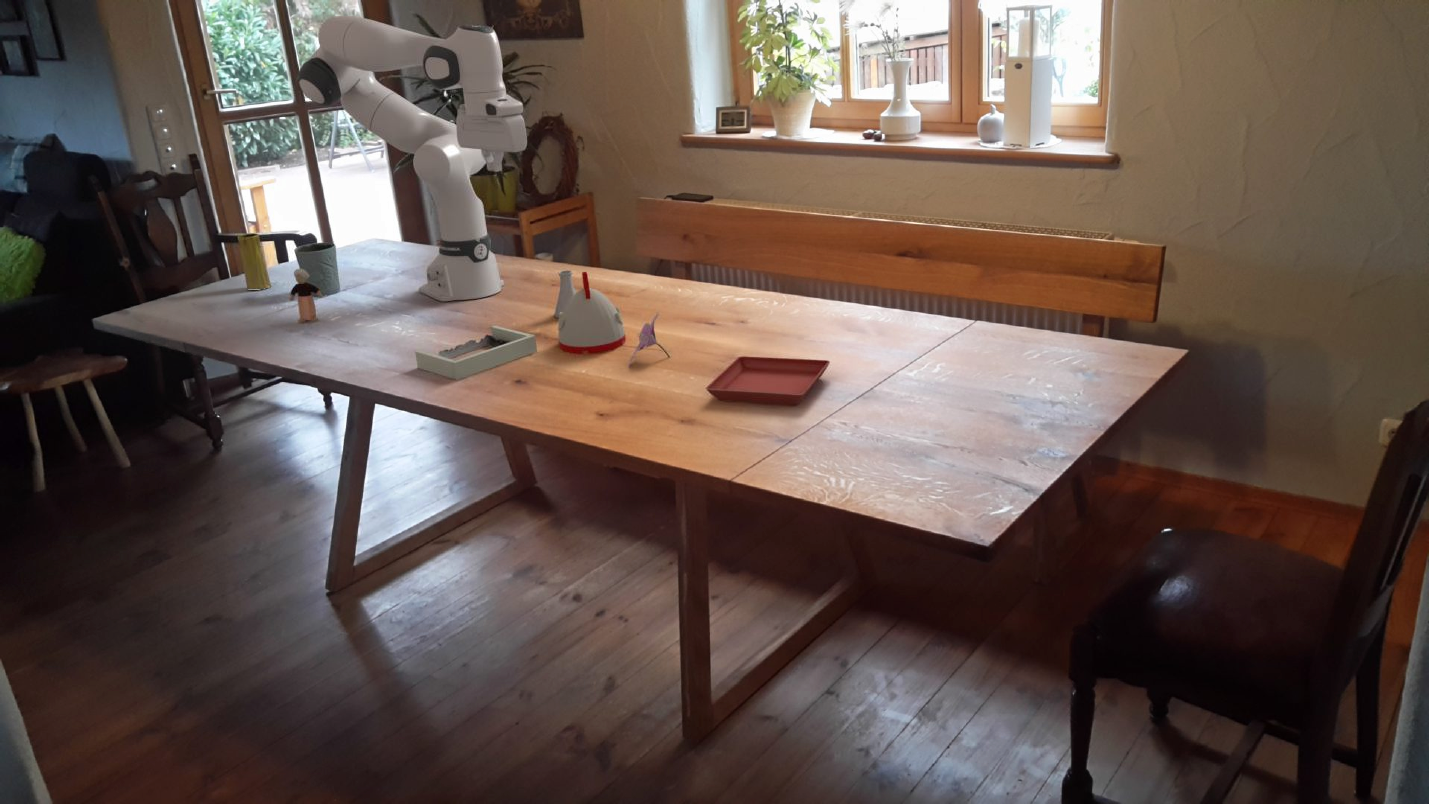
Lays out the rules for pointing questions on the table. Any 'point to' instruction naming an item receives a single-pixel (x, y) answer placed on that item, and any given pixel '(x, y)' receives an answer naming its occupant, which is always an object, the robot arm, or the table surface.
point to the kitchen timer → (590, 323)
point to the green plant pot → (320, 266)
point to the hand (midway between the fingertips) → (495, 170)
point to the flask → (564, 291)
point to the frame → (480, 355)
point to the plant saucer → (767, 380)
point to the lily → (647, 337)
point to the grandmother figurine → (305, 296)
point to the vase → (253, 261)
